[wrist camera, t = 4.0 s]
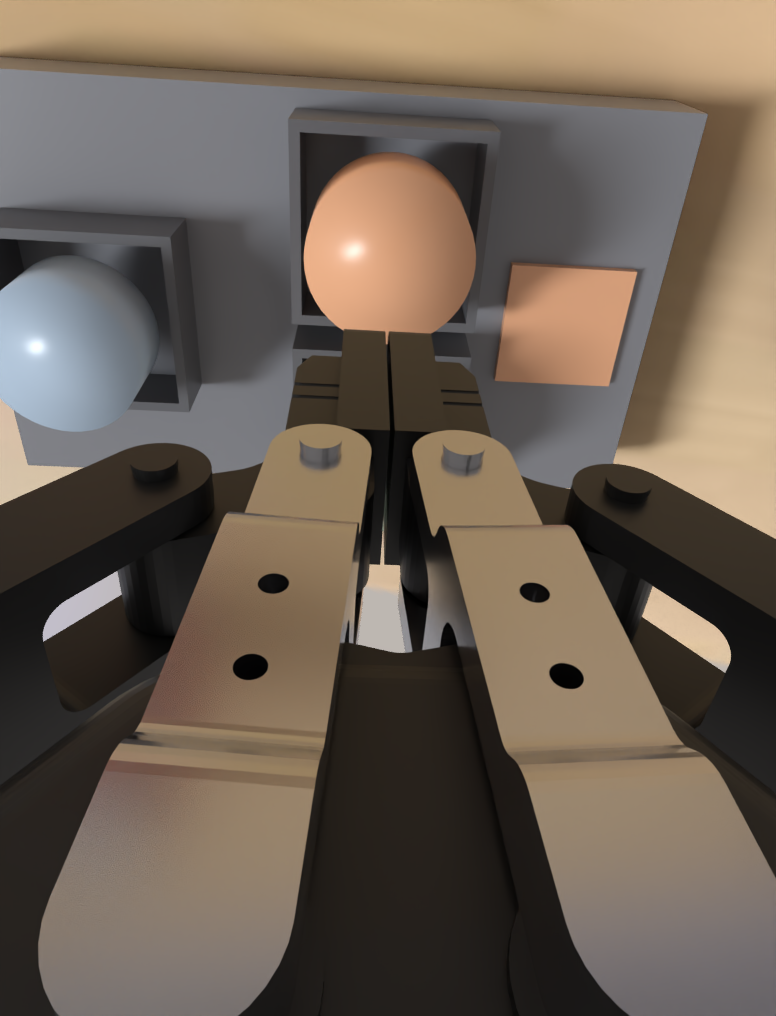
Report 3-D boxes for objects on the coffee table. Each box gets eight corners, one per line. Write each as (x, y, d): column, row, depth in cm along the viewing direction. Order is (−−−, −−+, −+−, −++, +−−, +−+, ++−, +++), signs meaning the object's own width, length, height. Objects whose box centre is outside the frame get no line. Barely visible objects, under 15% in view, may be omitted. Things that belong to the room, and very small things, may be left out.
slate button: (149, 259, 21) (126, 287, 19) (167, 397, 24) (148, 435, 22) (-7, 250, 21) (-47, 278, 19) (27, 391, 24) (-5, 428, 22)
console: (674, 100, 24) (736, 125, 20) (587, 450, 31) (619, 521, 27) (-29, 55, 23) (-120, 71, 19) (56, 426, 30) (5, 496, 26)
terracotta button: (476, 156, 20) (487, 175, 18) (457, 316, 22) (465, 348, 20) (310, 146, 20) (302, 165, 18) (310, 308, 22) (304, 340, 20)
